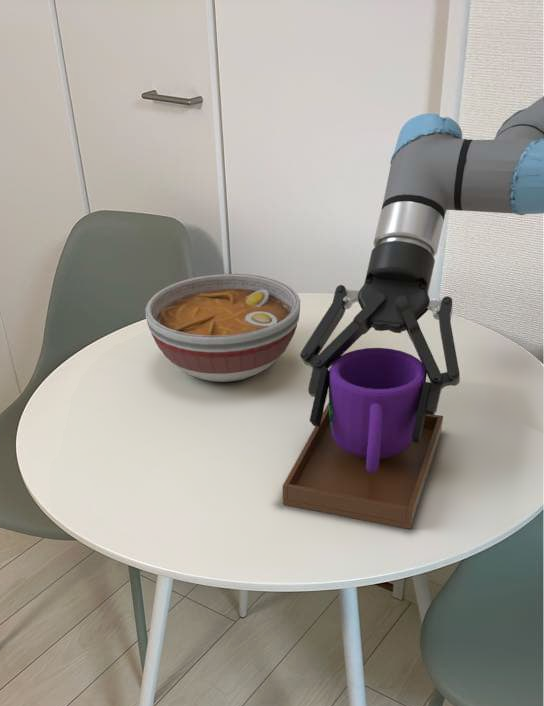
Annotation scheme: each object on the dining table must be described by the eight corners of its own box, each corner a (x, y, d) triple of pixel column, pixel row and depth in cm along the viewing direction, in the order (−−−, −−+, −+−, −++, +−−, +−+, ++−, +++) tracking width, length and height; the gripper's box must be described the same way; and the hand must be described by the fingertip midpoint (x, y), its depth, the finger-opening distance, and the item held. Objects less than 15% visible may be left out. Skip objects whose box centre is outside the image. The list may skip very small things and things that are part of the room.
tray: (440, 434, 100) (443, 415, 98) (410, 529, 85) (412, 510, 83) (329, 416, 104) (330, 398, 102) (282, 504, 90) (282, 485, 88)
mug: (330, 414, 100) (332, 344, 94) (417, 417, 98) (425, 347, 92) (320, 493, 87) (322, 418, 81) (421, 498, 85) (431, 422, 79)
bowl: (318, 341, 121) (320, 281, 115) (271, 412, 106) (269, 346, 99) (189, 324, 128) (184, 266, 122) (127, 389, 113) (116, 326, 106)
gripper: (506, 276, 89) (467, 455, 88) (313, 258, 96) (275, 423, 95) (510, 247, 82) (467, 441, 81) (301, 229, 89) (260, 408, 88)
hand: (364, 432), depth 88 cm, fingers closed on mug, 11 cm apart
